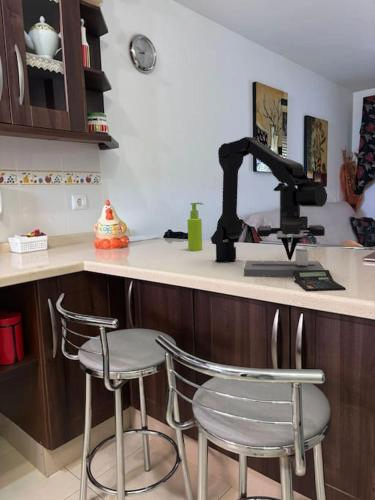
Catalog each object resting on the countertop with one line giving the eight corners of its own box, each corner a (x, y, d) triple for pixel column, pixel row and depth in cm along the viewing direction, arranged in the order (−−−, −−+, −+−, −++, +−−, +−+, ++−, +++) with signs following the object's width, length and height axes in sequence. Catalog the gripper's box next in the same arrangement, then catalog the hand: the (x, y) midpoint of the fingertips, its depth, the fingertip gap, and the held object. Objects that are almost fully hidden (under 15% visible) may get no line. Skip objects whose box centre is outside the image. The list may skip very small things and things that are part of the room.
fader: (296, 265, 110) (296, 251, 109) (295, 261, 116) (295, 248, 115) (308, 265, 109) (308, 251, 109) (305, 261, 115) (306, 248, 114)
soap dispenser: (203, 251, 159) (202, 202, 156) (187, 251, 160) (185, 203, 157) (205, 249, 165) (204, 202, 162) (189, 249, 166) (188, 202, 163)
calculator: (306, 292, 91) (306, 280, 91) (292, 281, 103) (292, 270, 102) (345, 291, 91) (345, 279, 91) (327, 280, 103) (327, 269, 102)
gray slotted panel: (244, 276, 109) (243, 268, 109) (246, 266, 123) (246, 260, 123) (324, 277, 105) (325, 269, 104) (318, 267, 118) (318, 260, 118)
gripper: (256, 208, 105) (256, 264, 107) (328, 207, 101) (327, 265, 103) (257, 207, 116) (257, 258, 118) (322, 205, 112) (321, 258, 114)
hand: (289, 259), depth 113 cm, fingers closed
